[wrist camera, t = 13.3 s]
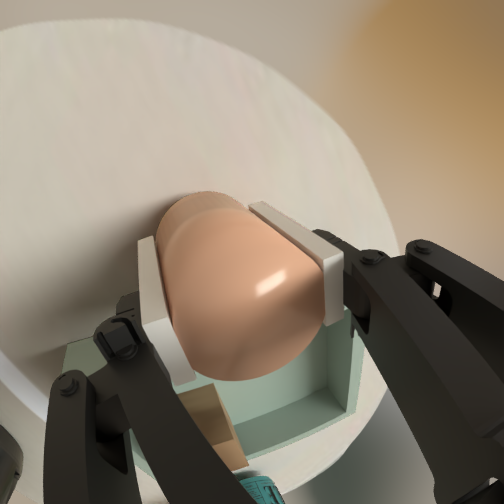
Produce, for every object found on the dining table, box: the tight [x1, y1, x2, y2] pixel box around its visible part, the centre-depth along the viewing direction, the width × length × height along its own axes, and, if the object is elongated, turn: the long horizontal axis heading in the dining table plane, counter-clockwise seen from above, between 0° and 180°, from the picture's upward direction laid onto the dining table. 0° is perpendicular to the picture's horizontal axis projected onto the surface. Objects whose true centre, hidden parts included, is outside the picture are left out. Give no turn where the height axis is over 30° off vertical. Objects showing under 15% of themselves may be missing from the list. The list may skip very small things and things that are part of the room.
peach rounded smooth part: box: [156, 191, 325, 381], centre depth 12 cm, size 5×5×7 cm
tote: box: [61, 305, 365, 481], centre depth 19 cm, size 18×14×4 cm
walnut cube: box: [177, 383, 249, 471], centre depth 18 cm, size 5×5×5 cm
